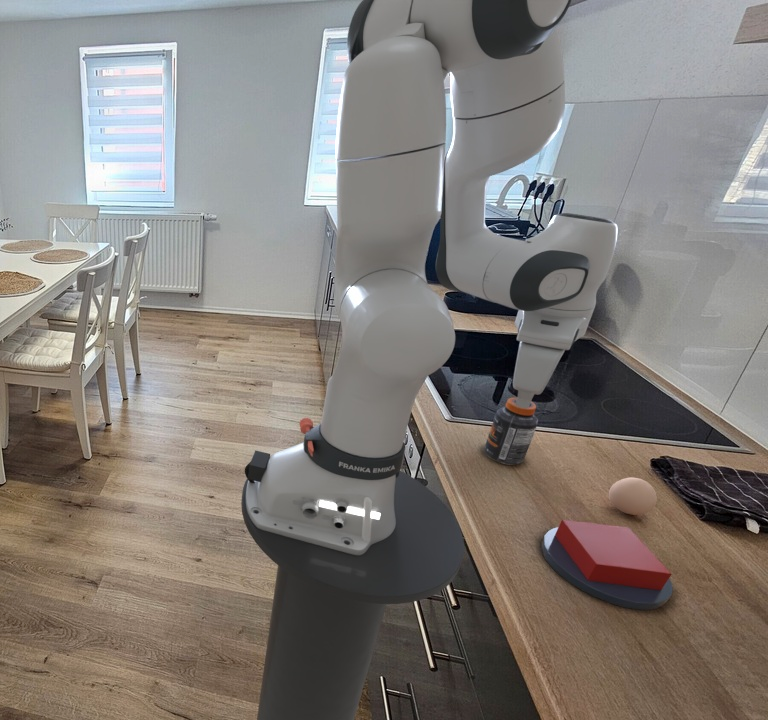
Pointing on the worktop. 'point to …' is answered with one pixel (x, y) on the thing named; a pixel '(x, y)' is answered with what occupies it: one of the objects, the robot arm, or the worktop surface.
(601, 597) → the plate
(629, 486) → the egg
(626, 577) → the red block
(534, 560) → the worktop surface
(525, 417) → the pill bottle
